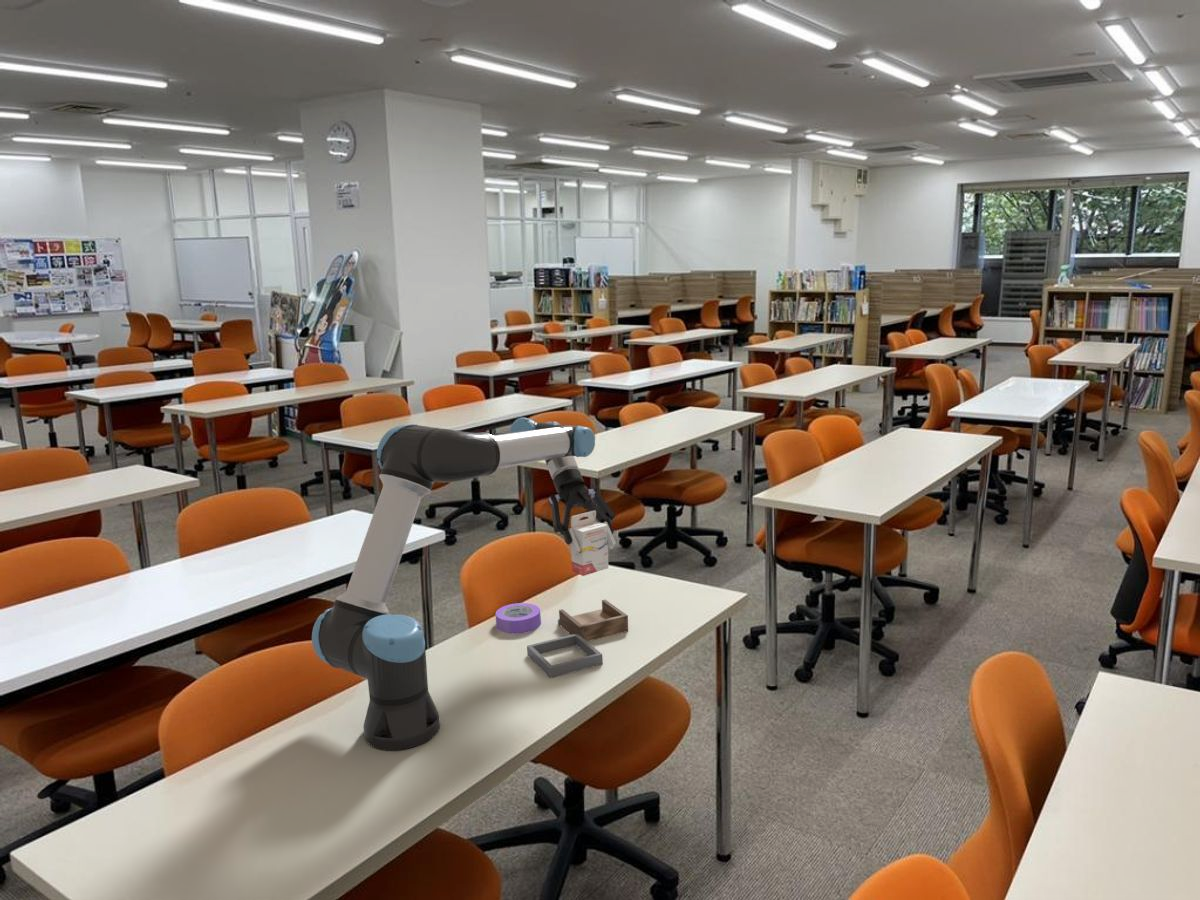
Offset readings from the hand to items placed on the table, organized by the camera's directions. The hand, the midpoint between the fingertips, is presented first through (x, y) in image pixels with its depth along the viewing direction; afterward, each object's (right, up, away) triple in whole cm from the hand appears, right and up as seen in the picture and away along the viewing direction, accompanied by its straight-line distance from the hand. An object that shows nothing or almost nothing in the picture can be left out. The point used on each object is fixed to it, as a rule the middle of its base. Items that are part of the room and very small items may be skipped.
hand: (595, 549), depth 216 cm
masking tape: (-20, -21, +11) cm, 31 cm away
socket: (-7, -25, -10) cm, 28 cm away
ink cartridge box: (-1, -6, +4) cm, 7 cm away
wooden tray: (-1, -21, +7) cm, 22 cm away
